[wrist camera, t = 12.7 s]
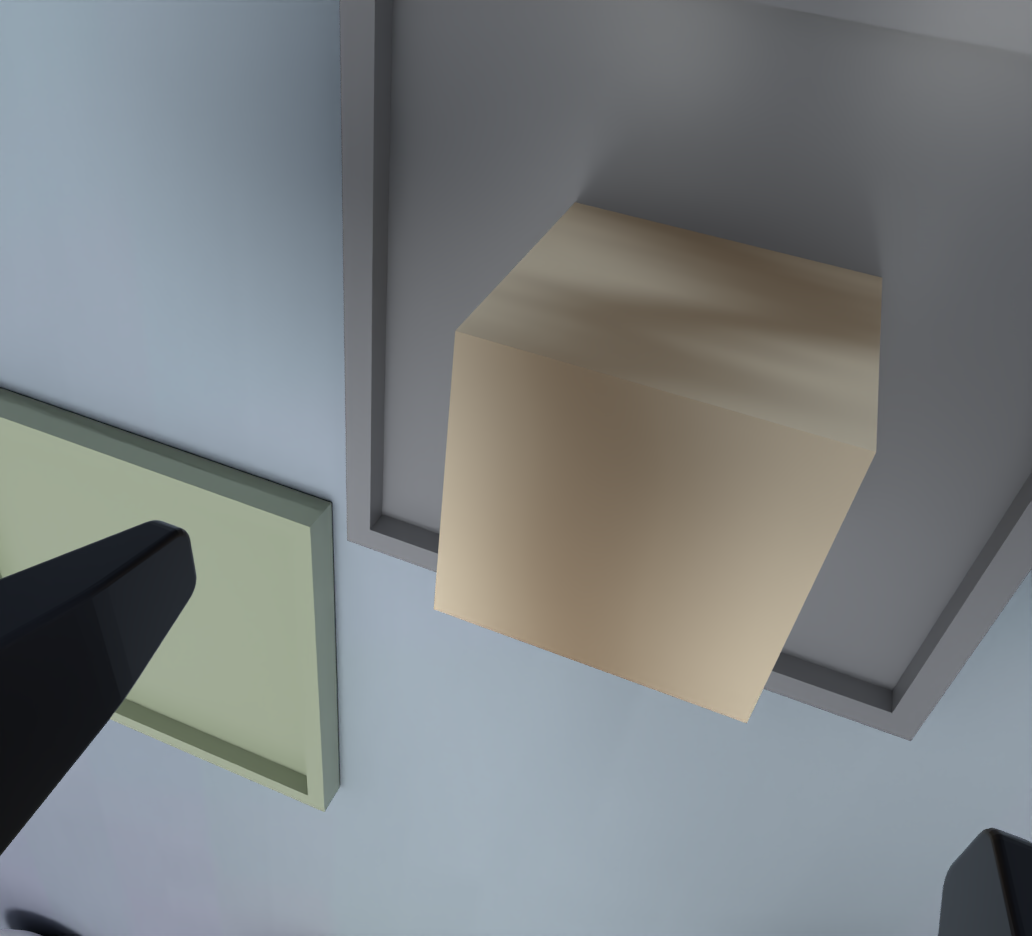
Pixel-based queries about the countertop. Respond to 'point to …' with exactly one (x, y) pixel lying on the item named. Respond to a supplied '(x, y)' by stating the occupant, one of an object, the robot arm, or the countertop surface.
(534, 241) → the charcoal tray
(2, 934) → the flower in vase
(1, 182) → the countertop surface
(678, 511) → the birch block
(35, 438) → the olive tray
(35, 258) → the countertop surface
